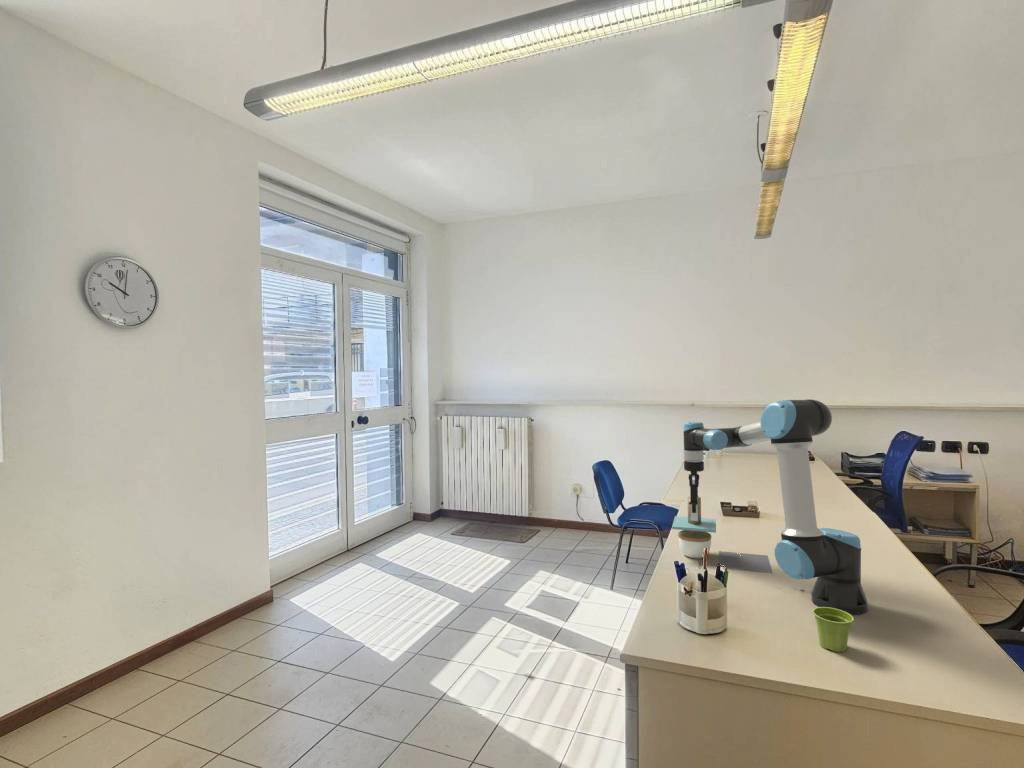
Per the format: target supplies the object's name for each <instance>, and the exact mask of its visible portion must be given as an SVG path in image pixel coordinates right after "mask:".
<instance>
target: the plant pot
mask: <svg viewBox="0 0 1024 768" xmlns="http://www.w3.org/2000/svg"><path fill="white" fill-rule="evenodd" d="M812 614H813V615H814V619H815V620H816V621H815V622H816V627H817V635H818V642H819V645H820V646H821V647H822V648H823V649H826V650H831V651H832V652H836V653H842V652H845V651H846V649H847V647H848V640H849V634H850V629H851V627H852V623H853V622H854V620H855V619H854V616H853V615H850V614H849V613H847V612H845V611H842V610H839V609H835V608H830V607H818V606H817V607H815V608H813V610H812Z"/></svg>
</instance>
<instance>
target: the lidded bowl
mask: <svg viewBox="0 0 1024 768" xmlns="http://www.w3.org/2000/svg"><path fill="white" fill-rule="evenodd" d="M677 536H678V547H679V549H680V551H681V552H682V553H683V555H685V556H686V557H688V558H691V559H703V558H702V554H703V549H704V548H707V549H708V554H709V553H710V551H711V548H712V547H711V546H712V534H711V532H702V531H690V530H679V532H678V533H677Z"/></svg>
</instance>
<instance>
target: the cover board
mask: <svg viewBox="0 0 1024 768" xmlns="http://www.w3.org/2000/svg"><path fill="white" fill-rule="evenodd" d="M697 502H698V521H691V512H690V504H689V503H690V496H688V497H687V516H677V515H674V518H673V522H672V526H671V529H672V530H678V531H682V530H690V531H702V532H708V533H715V534H716V533H717V519H716V518H703V517H702V498H701V497H700V496H698V497H697Z"/></svg>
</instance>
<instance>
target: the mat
mask: <svg viewBox="0 0 1024 768" xmlns="http://www.w3.org/2000/svg"><path fill="white" fill-rule="evenodd" d="M737 553H738V554H737ZM739 553H740V554H739ZM740 555H741V556H740ZM719 562H720V563H719ZM719 564H721V565H724V566H725V567H726V568H727V569H726V568H725V569H726V570H728V569H729V570H735V571H737V570H738V571H747V572H756V573H766V574H767V573H768V574H773V570H772V567H771V564H770V560H769V556H768V555H765V554H755V553H742V552H733V551H732V552H731V551H724V552H723V551H722V550H718V565H719Z"/></svg>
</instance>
